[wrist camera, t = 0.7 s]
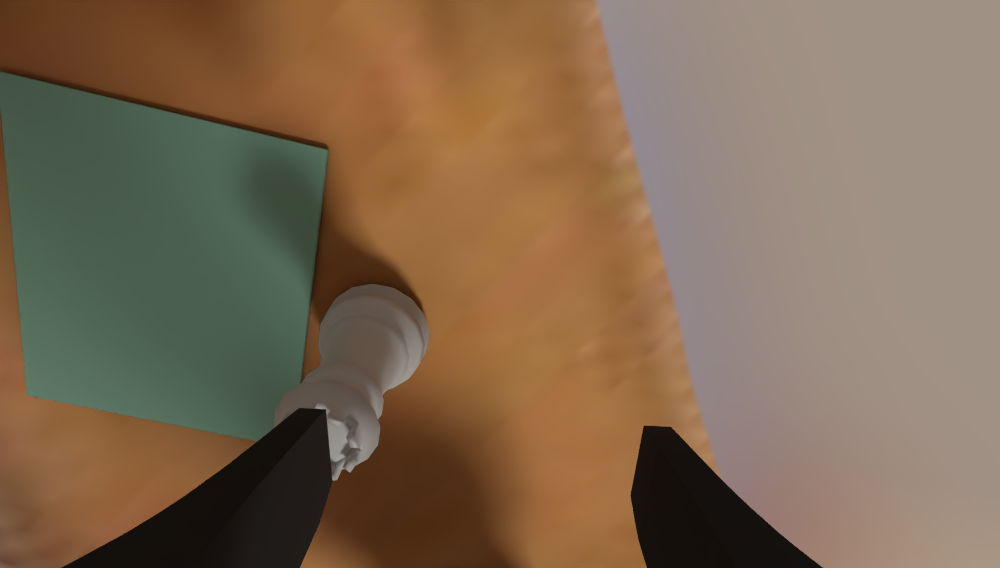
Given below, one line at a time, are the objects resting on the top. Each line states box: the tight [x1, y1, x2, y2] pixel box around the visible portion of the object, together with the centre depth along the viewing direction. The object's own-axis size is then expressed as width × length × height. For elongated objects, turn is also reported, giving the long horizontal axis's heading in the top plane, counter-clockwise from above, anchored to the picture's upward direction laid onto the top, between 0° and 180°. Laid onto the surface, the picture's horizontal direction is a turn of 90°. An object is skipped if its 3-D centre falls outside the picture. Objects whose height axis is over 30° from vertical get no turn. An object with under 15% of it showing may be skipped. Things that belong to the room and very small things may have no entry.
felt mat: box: [0, 71, 329, 441], centre depth 22 cm, size 14×12×1 cm
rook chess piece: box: [274, 284, 429, 481], centre depth 19 cm, size 4×4×8 cm
